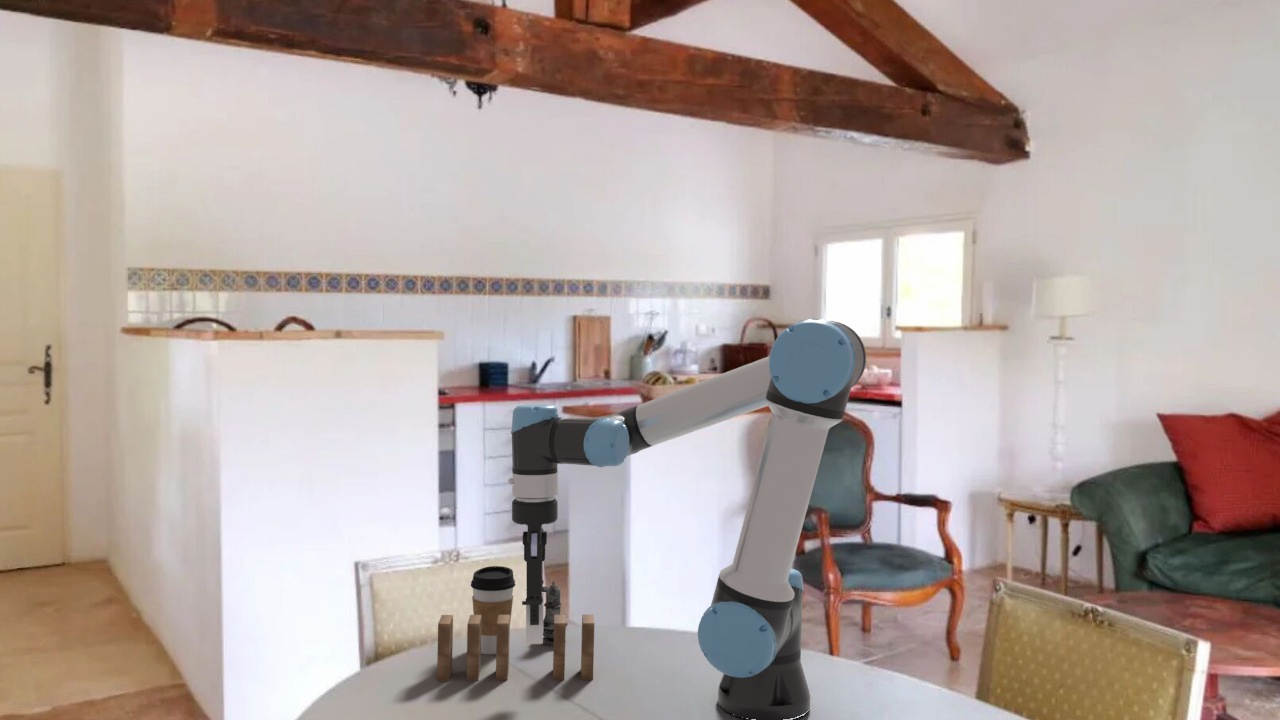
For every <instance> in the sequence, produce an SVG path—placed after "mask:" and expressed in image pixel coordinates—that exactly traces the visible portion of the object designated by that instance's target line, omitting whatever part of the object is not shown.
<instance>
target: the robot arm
mask: <svg viewBox="0 0 1280 720" xmlns="http://www.w3.org/2000/svg"><path fill="white" fill-rule="evenodd" d="M866 364H867V352H866V348H865V344H864V342H863V341H862V338H861V337H860V335H859V334H858V333H857V332H856V331H855V330H853V329H852V328H851V327H850V326H848V325H846V324H845V323H842V322H838V321H833V320H827V319H819V318H807V319H804V320H800V321H798V322H795V323H793V324H792V325H790V326H788V327H787V328H785V329H784V330H783V331H782V332H781V333H780V334H779V335H778V336H777V337H776V339H775V340H774V341H773V345H772V347H771V348H770V353H769V355H768V356H767V357H763V358H760V359H758V360H755V361H753V362H751V363H747V364H744V365H742V366H739V367H737V368H734V369H731V370H728V371H726V372H724V373H721V374H717V375H716V376H713V377H710V378H707V379H704V380H702V381H699V382H697V383H693V384H692V385H688V386H686V387H682V388H680V389H677V390H675V391H673V392H670V393H668V394H664V395H662V396H660V397H659V396H658V397H656V398H654V399H650V400H649V401H646V402H643V403H641V404H638V405H635V406H632V407H630V408H627V409H623V410H622V411H621V410H620V411H619V412H616V413H613V414H607V415H602V416H596V417H589V418H575V417H574V418H569V417H568V418H566V417H560V416H559V412H558V407H556V406H555V405H553V404H545V403H544V404H539V403H536V404H535V403H534V404H533V403H532V404H522V405H521V404H519V405H518V406H515V407H514V409H513V411H512V417H511V418H512V420H511V421H512V422H511V431H510V434H511V452H512V453H511V456H512V457H511V458H512V463H511V465H512V466H511V468H512V469H511V473H512V474H511V476H512V477H510V478H508V479H507V480H508V481H507V482H508V484H509V485H512V487H511V490H512V493H511V494H512V496H513V497H514V499H513V500H512V501H511V520H512V522H514V524H517V525H525V526H527V531H522V545H523V560H524V561H525V562H526V598H525V600H522V601H521V606H525V629H526V630H525V639H526V640H525V644H526V645H529V644H535V645H541V644H543V637H544V636H543V620H544V593H546V592H547V588H548V586H543V585H544V583H545V582H544V576H543V573H544V571H543V565H544V563H543V562H545V560H546V545H547V542H548V534H547V533H548V531H547V530H544V529H543V525H550V524H554V523H555V522H556V521H557V520H558V514H559V513H558V512H559V511H558V509H559V508H558V500H557V499H556V497H557V495H558V494H559V473H558V464H559V465H563V464H565V465H566V464H567V465H578V466H594V467H598V468H604V467H618V466H620V465H622V464H623V463H624V461H625V460H626V458H627V457H629V456H630V455H634V454H637V453H639V452H641V451H643V450H645V449H649V448H651V447H654V446H658V445H659V444H662V443H665V442H668V441H671V440H674V439H676V438H679V437H683V436H685V435H688V434H691V433H694V432H697V431H699V430H702V429H705V428H708V427H711V426H713V425H717V424H719V423H723V422H725V421H728V420H731V419H733V418H737V417H739V416H742V415H745V414H748V413H752V412H754V411H757V410H760V409H763V408H765V407H768V408H769V410H770V412H771V416H770V421H769V424H768V427H767V428H768V429H767V432H766V435H765V439H764V443H763V447H762V451H761V455H760V458H759V462H758V465H757V469H756V473H755V476H754V481H753V485H752V488H751V493H750V495H749V499H748V503H747V508H746V512H745V515H744V519H743V522H742V526H741V531H740V533H739V538H738V542H737V545H736V549H735V553H734V557H733V561H732V564H730V565H728V566H726V567H724V568H722V569H721V570H720V571H719V573H718V577H717V581H716V585H715V589H714V594H713V596H712V600H711V604H710V606H708V608H707V609H706V610H705V611H704V612H703V613H702V616H701V617H700V620H699V623H698V627H697V641H698V645H699V648H700V651H701V653H702V654H703V656H704V657H705V659H706V661H707V662H709V664H710V665H711V666H712V667H713V668H714V669H716V670H717V671H718V672H720V673H722V676H721V679H720V683H719V685H718V688H717V689H718V690H717V704H718V705H720V706H721V707H720V706H719V707H720V708H721V709H722V710H723V709H724V710H725V711H724V710H723V711H724V712H726V711H727V712H726V713H728V714H729V713H731V714H730V715H732V714H734V715H736V716H739V717H743V718H748V719H756V720H783V719H790V718H795V717H797V716H800V715H802V714H804V713H806V712H807V711H808V710H809V708H810V709H811V694H810V693H811V691H810V690H809V687H808V683H807V679H806V675H805V672H804V669H803V666H802V662H801V659H802V658H801V653H802V652H801V651H802V631H803V630H802V626H803V623H802V622H803V599H804V598H803V594H804V592H805V588H804V583H803V582H804V581H803V575H802V573H801V572H800V571H799V570H797V569H795V568H792V567H793V562H794V559H795V555H796V552H797V548H798V544H799V541H800V536H801V533H802V529H803V526H804V523H805V520H806V519H805V518H806V515H807V511H808V508H809V503H810V500H811V496H812V492H813V489H814V486H815V482H816V478H817V475H818V471H819V468H820V467H819V466H820V463H821V460H822V455H823V453H824V448H825V445H826V442H827V438H828V433H829V430H830V429H831V428H832V427H834V426H836V425H837V424H840V423H842V422H843V420H844V414H845V412H846V408H847V405H848V401H849V398H850V394H851V390H852V388H853V387H854V386H855V385H856V384H857V383H858V382H859V381H860V380H861V378H862V376H863V374H864V371H865V369H866ZM809 711H810V710H809ZM734 715H733V716H734ZM736 716H735V717H736ZM739 717H738V718H739ZM743 718H742V719H743Z"/></svg>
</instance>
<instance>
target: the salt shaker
mask: <svg viewBox="0 0 1280 720" xmlns="http://www.w3.org/2000/svg"><path fill="white" fill-rule="evenodd" d="M561 592H562V591H561V588H560V587H559V586H557V585H556V582H555V581H552V583H551V585H549V586H547V592H545V603H543V607H545V613H544V614H545V615H544V617H543V644H542V645H541V646H544V645H546V646H545V647H554V615H561V611H562V610H561V607H562V606H563V603H562V602H561ZM568 624H569V623H568V622H567V621H566V627H567V626H568ZM566 643H567V641H566V639H565V644H566Z"/></svg>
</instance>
